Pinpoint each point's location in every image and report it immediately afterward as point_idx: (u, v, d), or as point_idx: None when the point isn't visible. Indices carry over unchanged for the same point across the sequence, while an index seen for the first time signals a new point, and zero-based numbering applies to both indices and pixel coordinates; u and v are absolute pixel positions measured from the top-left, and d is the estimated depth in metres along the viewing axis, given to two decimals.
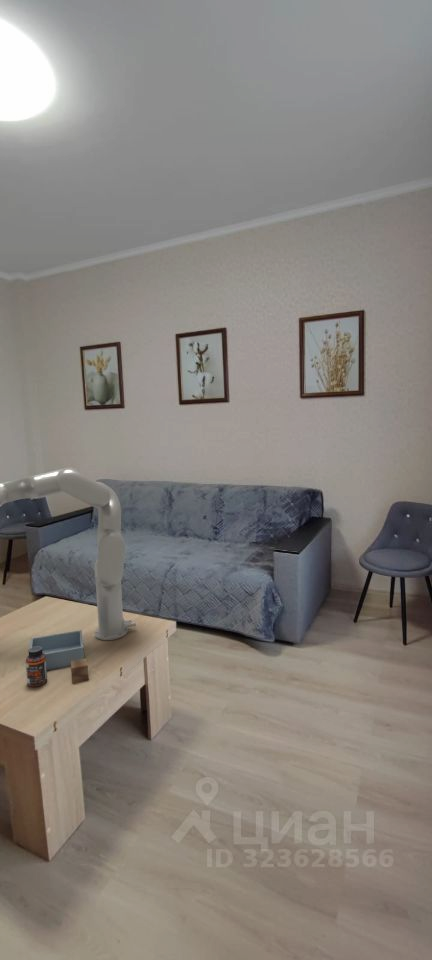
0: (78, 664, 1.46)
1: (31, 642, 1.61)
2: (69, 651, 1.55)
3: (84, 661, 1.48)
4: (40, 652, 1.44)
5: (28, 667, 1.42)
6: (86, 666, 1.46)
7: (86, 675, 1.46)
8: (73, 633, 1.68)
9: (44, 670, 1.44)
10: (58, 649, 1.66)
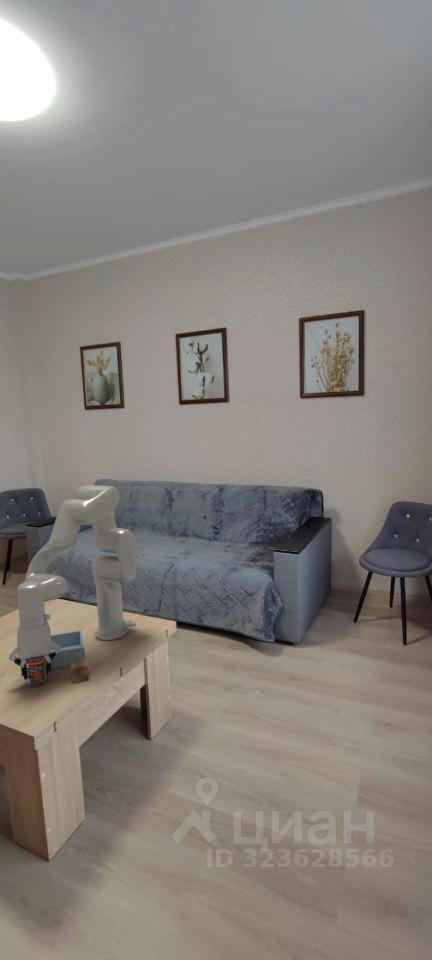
0: (78, 665, 1.46)
1: None
2: (69, 651, 1.55)
3: (84, 661, 1.48)
4: None
5: (28, 667, 1.42)
6: (86, 666, 1.46)
7: (86, 675, 1.46)
8: (73, 633, 1.68)
9: (44, 670, 1.44)
10: None
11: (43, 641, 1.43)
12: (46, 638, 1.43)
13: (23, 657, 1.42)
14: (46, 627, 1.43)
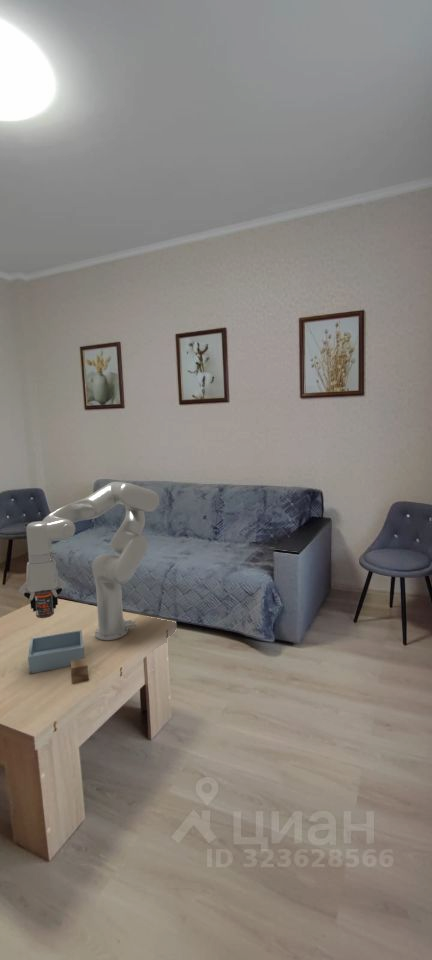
0: (78, 664, 1.46)
1: (31, 642, 1.61)
2: (69, 651, 1.55)
3: (84, 661, 1.48)
4: None
5: (37, 600, 1.55)
6: (86, 666, 1.46)
7: (86, 675, 1.46)
8: (73, 633, 1.68)
9: (51, 603, 1.57)
10: (58, 649, 1.66)
11: (50, 576, 1.55)
12: (53, 573, 1.55)
13: (32, 590, 1.54)
14: (53, 563, 1.55)
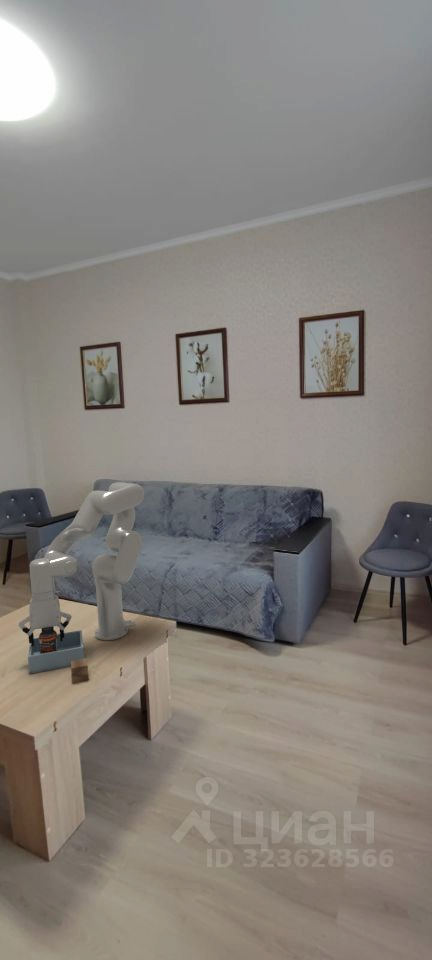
0: (78, 665, 1.46)
1: None
2: (69, 651, 1.55)
3: (84, 661, 1.48)
4: (52, 630, 1.58)
5: (41, 643, 1.57)
6: (86, 666, 1.46)
7: (86, 675, 1.46)
8: (73, 633, 1.68)
9: (55, 646, 1.59)
10: (58, 649, 1.66)
11: (53, 613, 1.56)
12: (56, 610, 1.57)
13: (35, 627, 1.55)
14: (56, 600, 1.57)
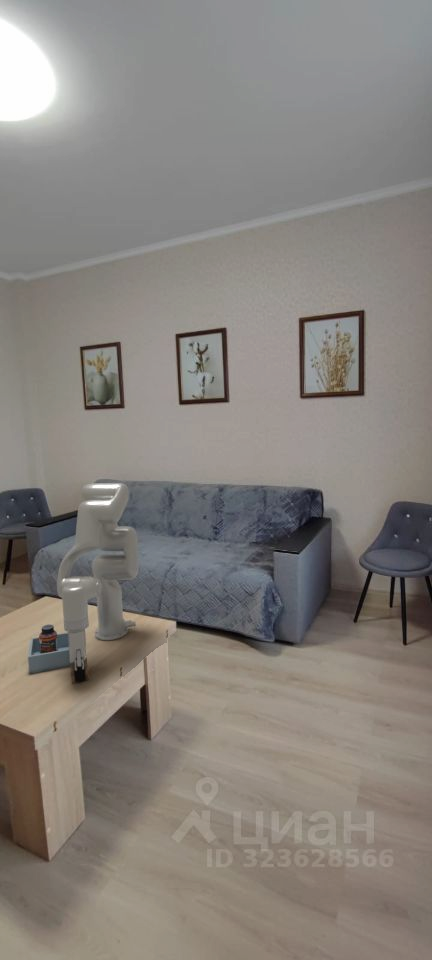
0: None
1: (31, 642, 1.61)
2: None
3: (84, 661, 1.48)
4: (52, 629, 1.58)
5: (41, 643, 1.57)
6: (86, 666, 1.46)
7: (86, 675, 1.46)
8: None
9: (55, 646, 1.59)
10: (58, 649, 1.66)
11: None
12: None
13: None
14: None
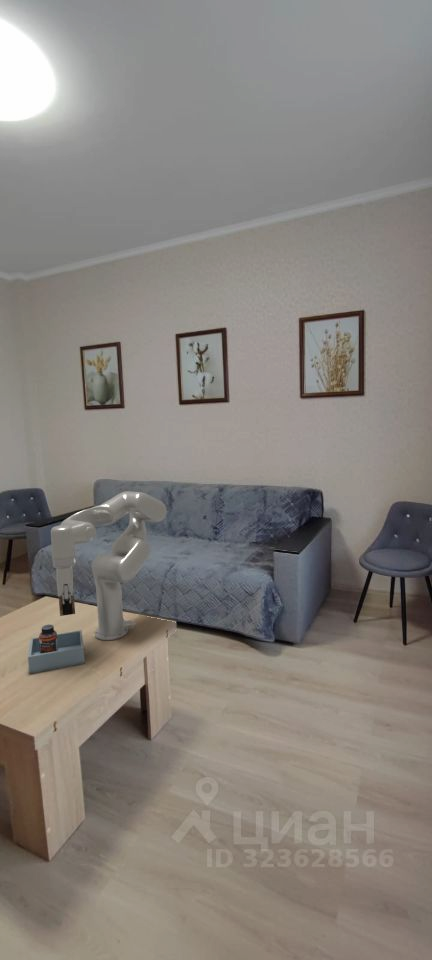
0: None
1: (31, 642, 1.61)
2: (69, 651, 1.55)
3: (71, 597, 1.60)
4: (52, 630, 1.58)
5: (41, 643, 1.57)
6: (73, 601, 1.58)
7: (73, 609, 1.58)
8: (73, 633, 1.68)
9: (55, 646, 1.59)
10: (58, 649, 1.66)
11: None
12: None
13: (72, 592, 1.57)
14: None
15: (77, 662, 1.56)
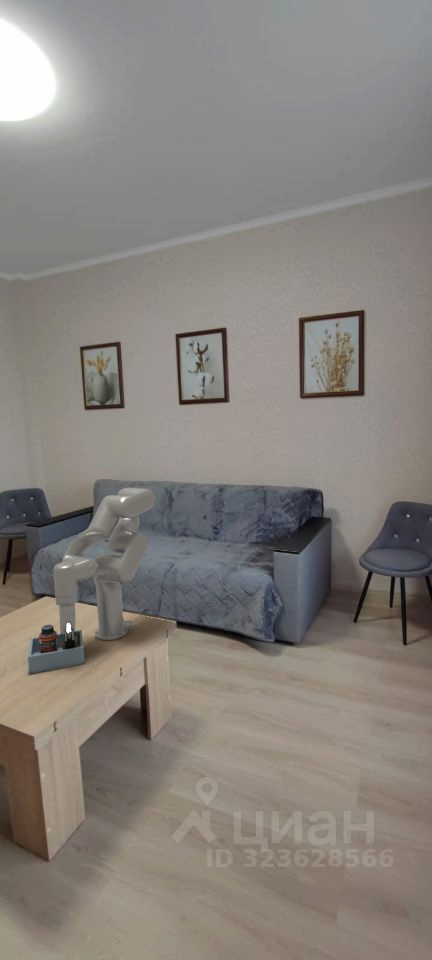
0: None
1: (31, 642, 1.61)
2: (69, 651, 1.55)
3: None
4: (52, 630, 1.58)
5: (41, 643, 1.57)
6: (76, 643, 1.60)
7: None
8: None
9: (55, 646, 1.59)
10: (58, 649, 1.66)
11: None
12: None
13: None
14: None
15: (77, 662, 1.56)
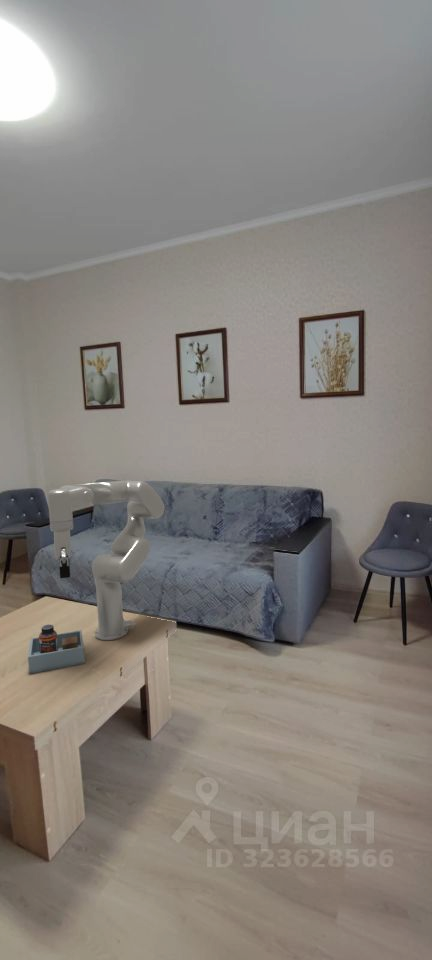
0: (68, 642, 1.60)
1: (31, 642, 1.61)
2: (69, 651, 1.55)
3: (74, 639, 1.62)
4: (52, 630, 1.58)
5: (41, 643, 1.57)
6: (76, 643, 1.60)
7: None
8: (73, 633, 1.68)
9: (55, 646, 1.59)
10: (58, 649, 1.66)
11: None
12: None
13: None
14: None
15: (77, 662, 1.56)
